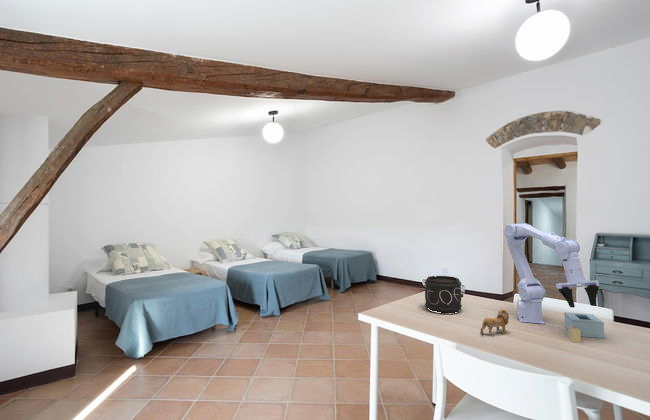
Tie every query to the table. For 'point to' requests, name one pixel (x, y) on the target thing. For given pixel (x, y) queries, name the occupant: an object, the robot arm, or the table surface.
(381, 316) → the table surface
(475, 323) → the table surface
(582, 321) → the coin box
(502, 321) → the lion figurine
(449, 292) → the black lettered canister
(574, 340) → the tan rectangular block
